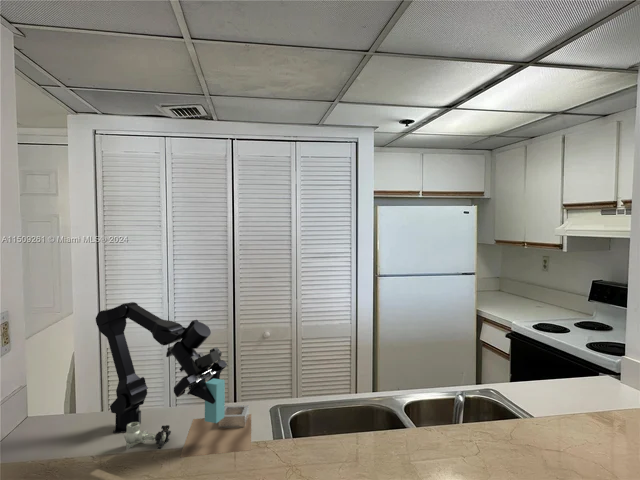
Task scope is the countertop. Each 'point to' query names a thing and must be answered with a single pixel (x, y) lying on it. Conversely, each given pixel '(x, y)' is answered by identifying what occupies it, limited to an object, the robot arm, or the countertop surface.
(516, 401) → the countertop surface
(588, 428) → the countertop surface
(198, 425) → the board
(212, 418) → the block
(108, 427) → the countertop surface
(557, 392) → the countertop surface
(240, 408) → the collar
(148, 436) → the valve
